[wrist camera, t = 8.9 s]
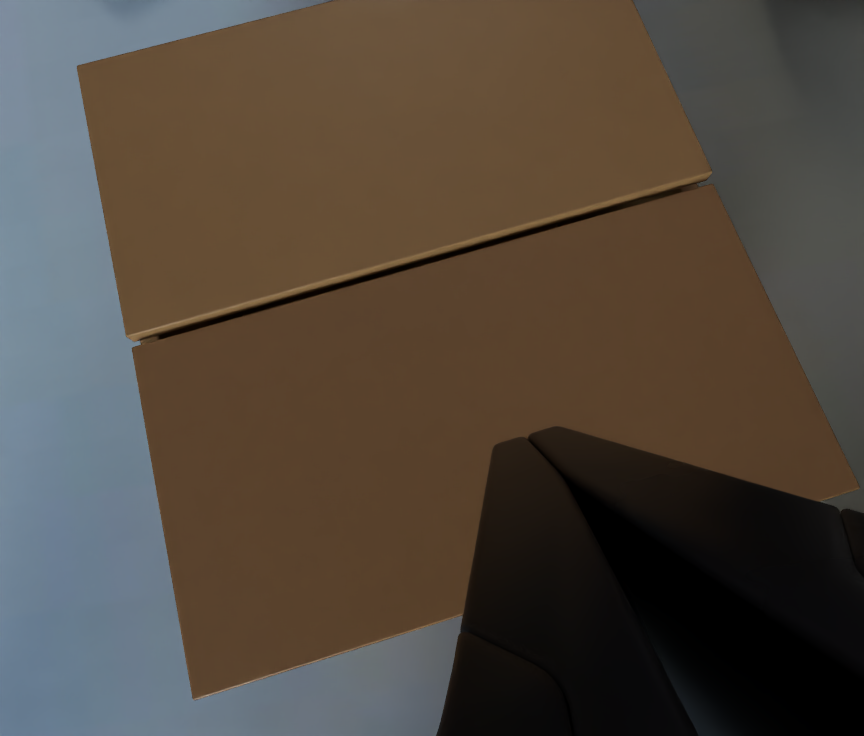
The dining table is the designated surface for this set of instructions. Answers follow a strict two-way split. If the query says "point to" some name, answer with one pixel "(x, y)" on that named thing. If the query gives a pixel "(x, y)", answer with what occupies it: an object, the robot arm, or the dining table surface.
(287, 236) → the carton
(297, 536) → the flap
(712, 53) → the dining table surface
